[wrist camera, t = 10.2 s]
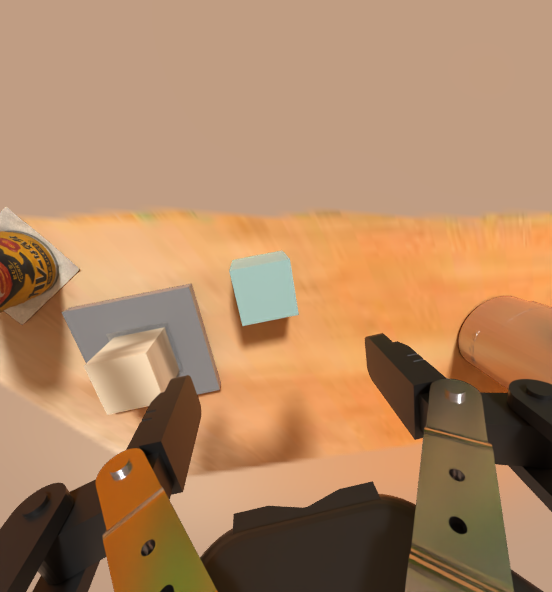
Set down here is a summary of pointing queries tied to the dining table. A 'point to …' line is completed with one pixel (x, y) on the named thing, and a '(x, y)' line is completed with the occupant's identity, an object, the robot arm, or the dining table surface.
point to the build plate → (147, 316)
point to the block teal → (264, 287)
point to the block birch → (132, 370)
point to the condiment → (28, 268)
